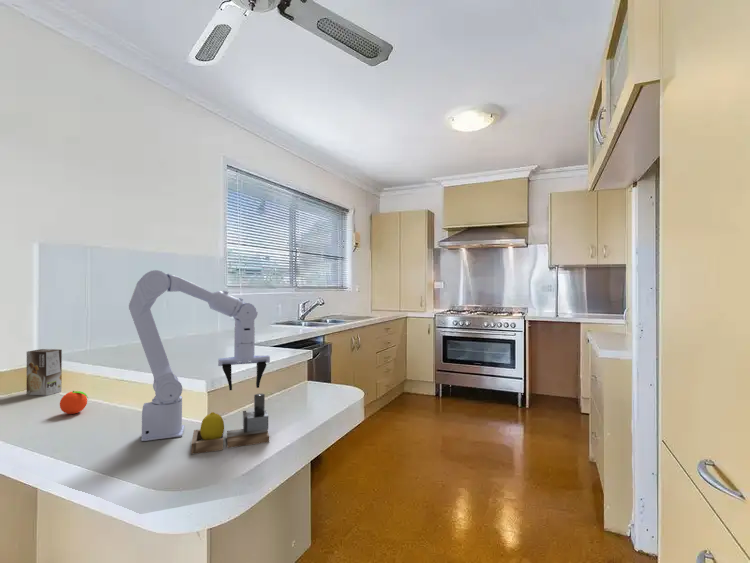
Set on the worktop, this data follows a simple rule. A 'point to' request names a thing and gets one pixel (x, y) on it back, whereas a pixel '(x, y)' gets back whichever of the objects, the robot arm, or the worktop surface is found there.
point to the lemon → (212, 427)
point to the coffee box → (44, 371)
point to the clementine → (73, 402)
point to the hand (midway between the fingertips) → (244, 388)
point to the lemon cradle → (205, 444)
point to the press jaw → (256, 416)
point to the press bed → (246, 437)
